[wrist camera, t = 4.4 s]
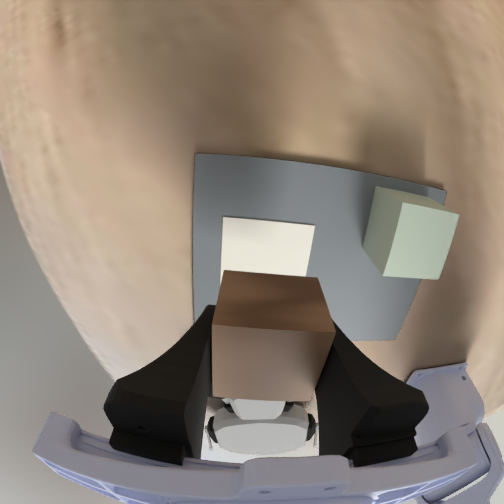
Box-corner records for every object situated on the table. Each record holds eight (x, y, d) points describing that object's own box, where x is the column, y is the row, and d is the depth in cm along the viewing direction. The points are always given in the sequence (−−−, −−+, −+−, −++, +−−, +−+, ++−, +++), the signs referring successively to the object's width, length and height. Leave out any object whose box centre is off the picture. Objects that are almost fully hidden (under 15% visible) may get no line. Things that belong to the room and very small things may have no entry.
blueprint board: (444, 190, 17) (447, 191, 17) (393, 337, 23) (395, 340, 23) (196, 153, 17) (194, 153, 16) (195, 328, 23) (194, 332, 22)
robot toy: (189, 342, 25) (214, 429, 30) (178, 375, 21) (210, 457, 26) (323, 336, 24) (312, 426, 30) (332, 370, 20) (316, 455, 25)
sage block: (427, 196, 17) (459, 214, 13) (412, 253, 19) (438, 279, 15) (375, 185, 17) (402, 202, 13) (362, 247, 19) (382, 276, 15)
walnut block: (317, 277, 13) (336, 332, 10) (301, 345, 15) (309, 401, 12) (224, 269, 13) (212, 324, 10) (221, 339, 15) (212, 396, 12)
